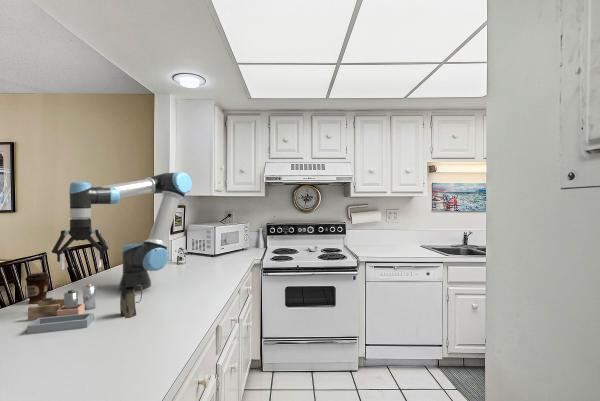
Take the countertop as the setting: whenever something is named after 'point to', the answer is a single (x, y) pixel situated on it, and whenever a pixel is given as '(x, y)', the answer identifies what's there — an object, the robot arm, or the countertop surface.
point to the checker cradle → (45, 308)
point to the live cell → (89, 296)
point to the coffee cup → (37, 286)
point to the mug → (128, 302)
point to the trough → (60, 323)
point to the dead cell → (71, 300)
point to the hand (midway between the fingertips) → (81, 268)
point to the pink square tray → (72, 310)
